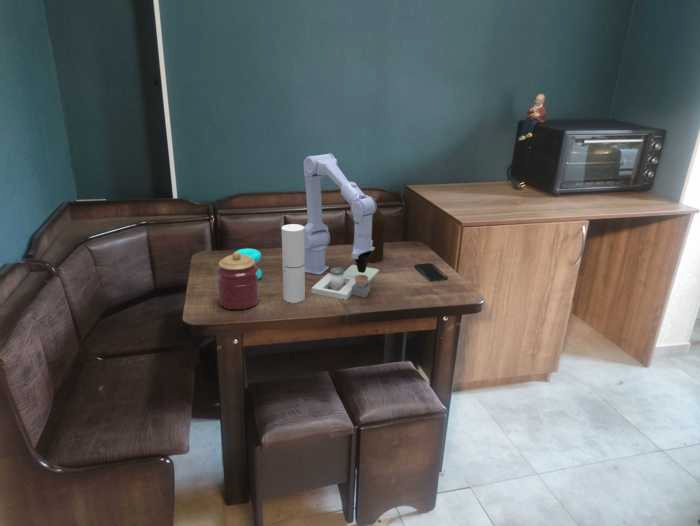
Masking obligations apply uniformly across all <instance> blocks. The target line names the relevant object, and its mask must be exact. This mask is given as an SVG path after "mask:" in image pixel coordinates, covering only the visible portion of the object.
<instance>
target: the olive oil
mask: <svg viewBox="0 0 700 526" xmlns="http://www.w3.org/2000/svg"><path fill="white" fill-rule="evenodd" d="M373 199H374V200H375V202H376V206H377V208H376V212H375V213H374V214H372V236H371V240H373V244H372V247H374V250H373V251H372V254H371V256H370V258H369V260H368V262H370V263H369V264H374V263H379V262H381V261H383V258H384V245H385V236H386V227H387V221H386V217H385V215H384V214H383V212H381V210H380V209H379V208H378V197H374V196H373Z"/></svg>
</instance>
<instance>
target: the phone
mask: <svg viewBox="0 0 700 526" xmlns="http://www.w3.org/2000/svg"><path fill="white" fill-rule="evenodd" d="M413 268H414V269H415V270H416V271H417V272H418V273H420V275H422V276H423V278H424V279H426V280H427V281H428V282H432V283H433V282H441V281H448V279H449V277H448V275H446V274H445V273H444V272H443V271H441V270H440V268H438V267H437V266H436V265H434V264H433V263H430V262H428V263H426V262H425V263H419V264H418V263H416V264H414V265H413Z"/></svg>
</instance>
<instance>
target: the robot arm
mask: <svg viewBox="0 0 700 526" xmlns="http://www.w3.org/2000/svg"><path fill="white" fill-rule="evenodd" d="M303 174H304V175H303V177H304V179H305V194H306V197H305V198H306V211H307V213H306V214H307V223H306V224H305V225H304V259H305V263H304V264H305V273H307V274H314V275H318V276H320V275H321V276H322V274H324V273H325V272H326V271H328V269H330V266H327V265H326V248H327V247H328V245H329V243H330V242H331V235H330V232H329V226H328V225H327V224H325V223H324V222H323V209H322V206H323V205H322V191H321V190H322V188H321V180H322V179H323V178H324V177H325V176H328V177H329V178H330V179H331V180H332V181H333V182H334V183H335V184H336V185H337V186H338V187H339V188H340V194H341V195H342V197H343V198H344V199H345V201H347V203H348V204H349V205H350V211H351V214H352V216H353V217H352V219H353V221H354V229H353V233H354V234H353V236H354V237H353V245H352V246H353V248H352V252H351V259H353V260H355V264H356V265H357V269H358V272H361V273H364V272H365V270H366V267H368V260H369V258H370V256H371V254H372V251H373V250H374V247H372V244H373V240H371V236H372V214H374V213H375V212H376V208H378V205H377V206H376V202H375V200H374V199H373V197H374V196H373V197H372V196H369V195H367V194H365V193H364V192H363V191H362V190H361V188H359V186H358V184H357V183H356V182H354V181H349V180H348V179H347V177H346V175H345V174H344V173H343V172H342V170H341V169H340V167H339V166H338V159H337V158H335V156H334V155H333V154H332V153H325V154H319V155H318V154H317V155H308V156H307V157H305V159H304V160H303Z"/></svg>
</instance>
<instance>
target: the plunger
mask: <svg viewBox="0 0 700 526" xmlns="http://www.w3.org/2000/svg"><path fill="white" fill-rule="evenodd" d="M355 281H356V286H355V287H359V288H365V287H366V286H367V281H368V277H367V276H365V275H357V276H355Z"/></svg>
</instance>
